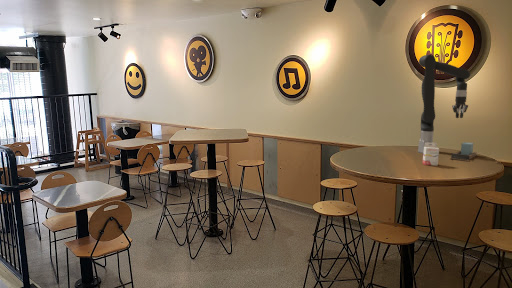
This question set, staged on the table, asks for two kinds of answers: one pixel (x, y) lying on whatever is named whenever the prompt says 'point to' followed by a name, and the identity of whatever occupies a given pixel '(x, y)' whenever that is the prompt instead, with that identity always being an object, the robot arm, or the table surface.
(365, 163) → the table surface
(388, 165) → the table surface
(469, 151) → the slate block
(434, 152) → the ink cartridge box
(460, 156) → the walnut chute
